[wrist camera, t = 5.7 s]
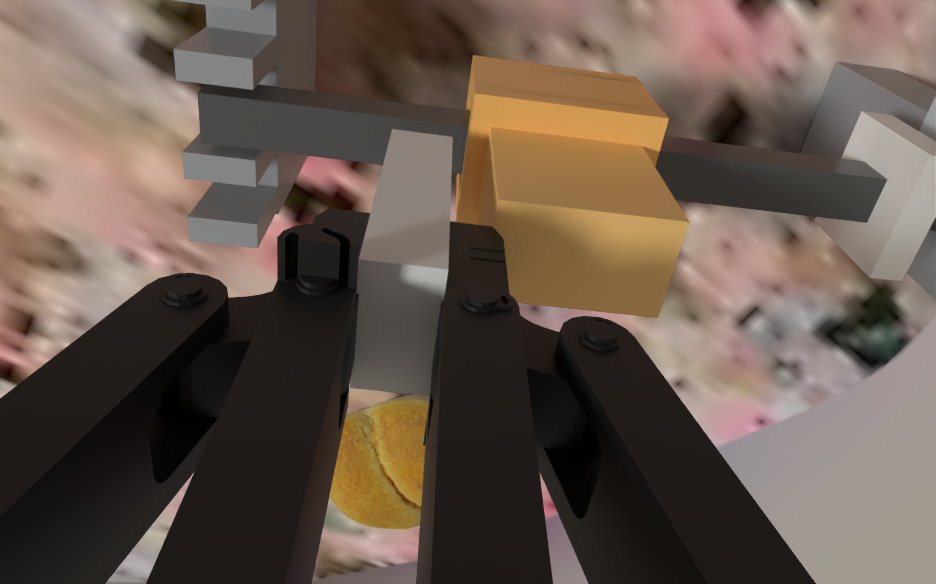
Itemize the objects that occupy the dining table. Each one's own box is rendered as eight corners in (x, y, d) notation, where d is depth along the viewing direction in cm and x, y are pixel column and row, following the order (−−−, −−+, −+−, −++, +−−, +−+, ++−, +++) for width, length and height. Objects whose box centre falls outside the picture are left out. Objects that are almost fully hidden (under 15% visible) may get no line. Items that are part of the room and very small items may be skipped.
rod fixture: (266, 136, 30) (170, 275, 20) (262, -78, 25) (138, -35, 16) (835, 205, 31) (1004, 363, 22) (918, 17, 27) (1174, 108, 18)
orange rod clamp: (456, 179, 23) (454, 326, 16) (472, 55, 21) (479, 159, 14) (605, 197, 24) (669, 348, 16) (635, 76, 21) (724, 189, 14)
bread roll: (297, 423, 38) (281, 479, 35) (446, 367, 36) (444, 420, 33) (371, 518, 42) (363, 576, 39) (509, 472, 40) (513, 528, 37)
